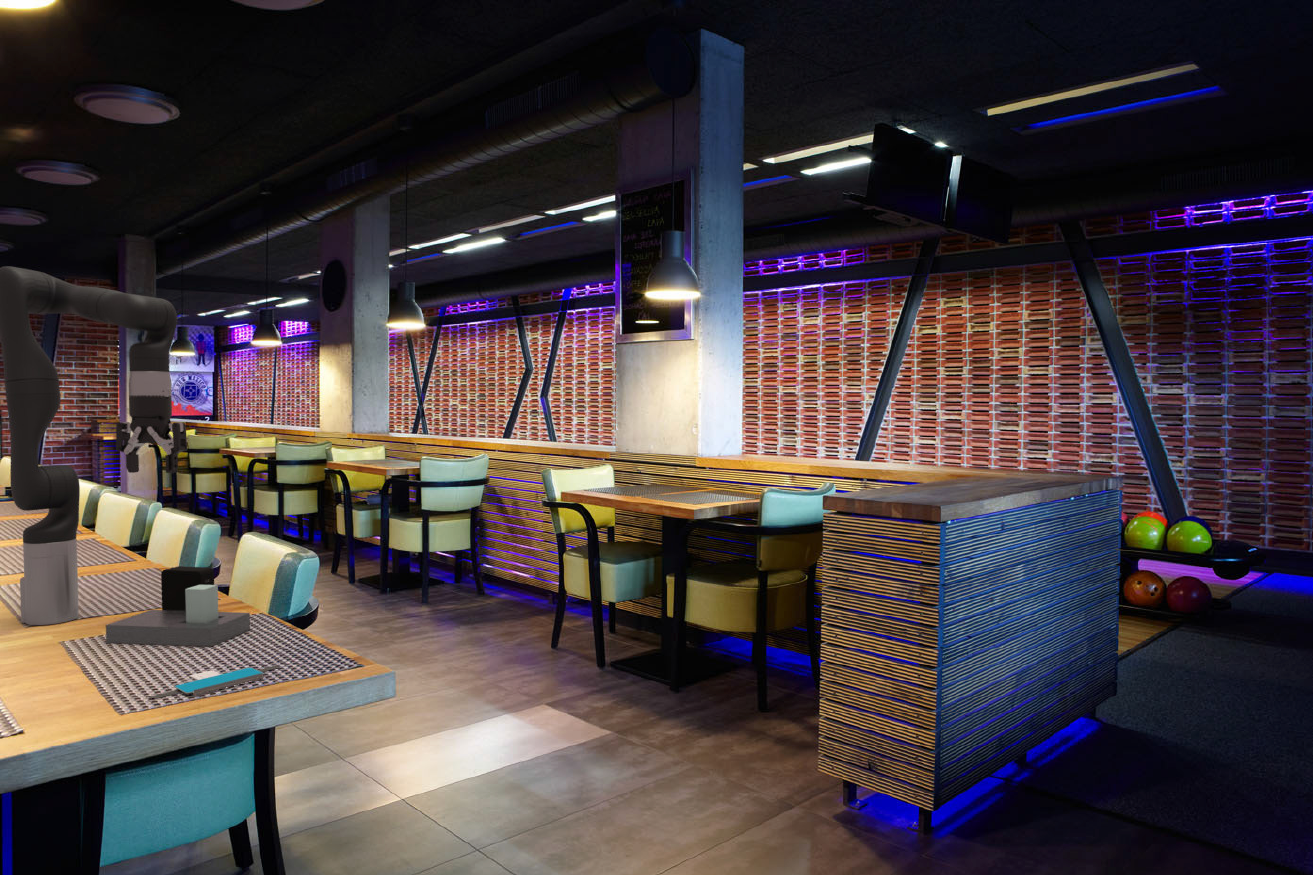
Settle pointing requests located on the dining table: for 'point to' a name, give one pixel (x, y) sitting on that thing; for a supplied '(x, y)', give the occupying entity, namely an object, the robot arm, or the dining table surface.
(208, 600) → the sage green square post
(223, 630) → the grey peg hole base
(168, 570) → the electronic device
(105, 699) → the dining table surface
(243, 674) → the teal bar with rods
